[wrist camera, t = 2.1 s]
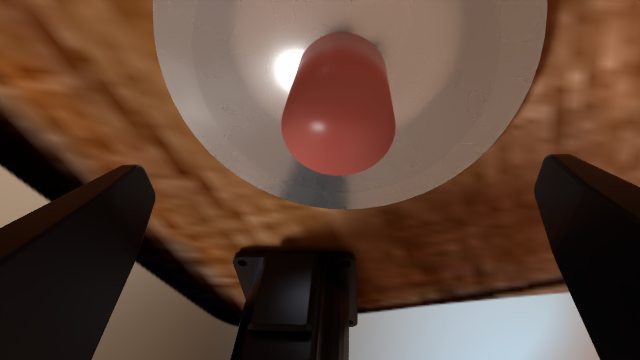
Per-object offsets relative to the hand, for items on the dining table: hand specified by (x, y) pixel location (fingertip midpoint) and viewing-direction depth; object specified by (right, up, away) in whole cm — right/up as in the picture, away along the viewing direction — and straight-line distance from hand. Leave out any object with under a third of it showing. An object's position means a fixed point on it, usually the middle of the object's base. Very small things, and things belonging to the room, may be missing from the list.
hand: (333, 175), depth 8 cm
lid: (+1, +4, +5) cm, 7 cm away
